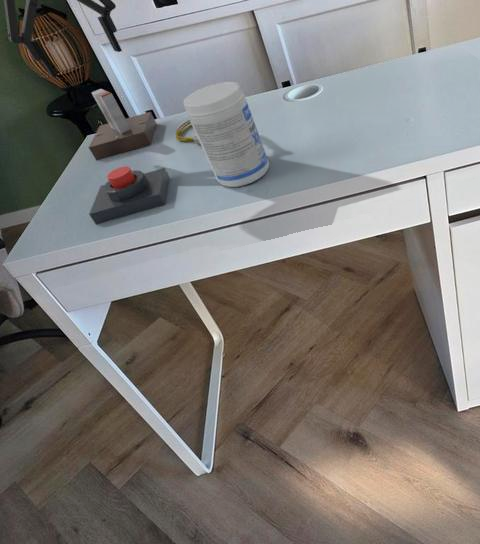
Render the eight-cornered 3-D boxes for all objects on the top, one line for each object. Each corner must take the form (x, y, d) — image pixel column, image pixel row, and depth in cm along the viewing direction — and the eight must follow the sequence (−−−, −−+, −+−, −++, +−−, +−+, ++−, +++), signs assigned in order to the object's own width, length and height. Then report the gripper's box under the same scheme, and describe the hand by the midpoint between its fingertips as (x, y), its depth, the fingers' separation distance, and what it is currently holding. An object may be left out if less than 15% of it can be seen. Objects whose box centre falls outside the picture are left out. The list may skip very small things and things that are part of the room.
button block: (96, 224, 82) (82, 205, 80) (107, 195, 90) (95, 177, 87) (165, 205, 83) (154, 185, 80) (170, 178, 91) (160, 158, 88)
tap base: (96, 160, 104) (87, 146, 102) (106, 137, 113) (99, 125, 111) (150, 144, 105) (143, 131, 103) (156, 123, 114) (150, 110, 112)
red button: (111, 191, 83) (104, 181, 81) (115, 180, 86) (109, 170, 84) (134, 185, 83) (128, 174, 81) (137, 174, 86) (131, 164, 84)
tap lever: (110, 127, 109) (90, 91, 104) (119, 123, 110) (100, 87, 105) (121, 133, 104) (101, 96, 99) (131, 129, 105) (111, 92, 100)
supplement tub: (279, 171, 84) (250, 87, 75) (230, 195, 81) (194, 111, 71) (256, 155, 91) (226, 76, 81) (210, 177, 88) (173, 98, 78)
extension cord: (173, 157, 98) (169, 148, 96) (179, 126, 110) (175, 118, 108) (232, 140, 98) (228, 131, 97) (232, 112, 110) (229, 103, 109)
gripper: (-56, -41, 77) (29, 90, 91) (93, -81, 88) (149, 42, 102) (-61, -40, 82) (20, 84, 96) (81, -78, 93) (136, 39, 106)
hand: (87, 63), depth 99 cm, fingers open, 13 cm apart
